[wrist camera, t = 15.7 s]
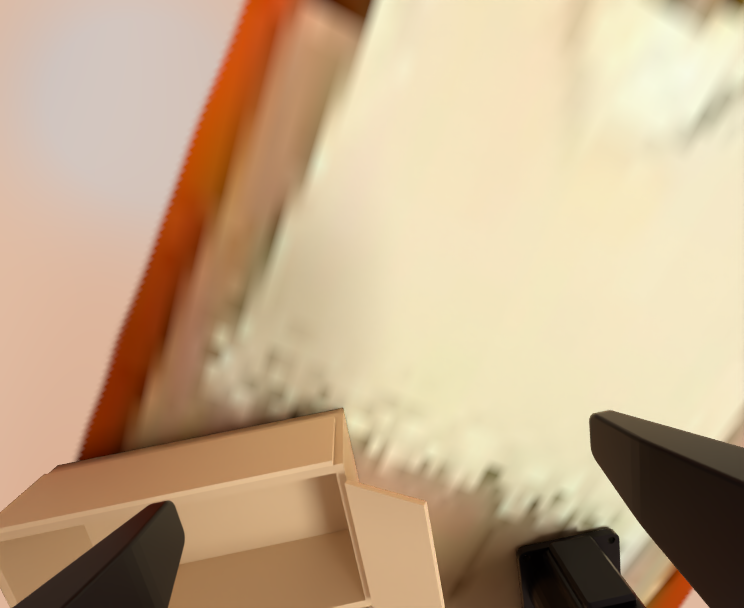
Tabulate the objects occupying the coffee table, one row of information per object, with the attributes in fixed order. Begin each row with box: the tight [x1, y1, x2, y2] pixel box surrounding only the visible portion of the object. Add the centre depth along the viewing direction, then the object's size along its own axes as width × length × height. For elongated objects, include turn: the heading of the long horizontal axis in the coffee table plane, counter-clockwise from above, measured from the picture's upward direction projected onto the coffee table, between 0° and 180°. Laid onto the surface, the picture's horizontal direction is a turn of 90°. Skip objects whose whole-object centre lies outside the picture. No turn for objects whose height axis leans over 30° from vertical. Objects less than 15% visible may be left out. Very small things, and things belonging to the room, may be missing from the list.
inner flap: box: [345, 480, 445, 608], centre depth 17 cm, size 7×4×1 cm
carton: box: [0, 408, 372, 608], centre depth 20 cm, size 9×16×5 cm, turn 101°
